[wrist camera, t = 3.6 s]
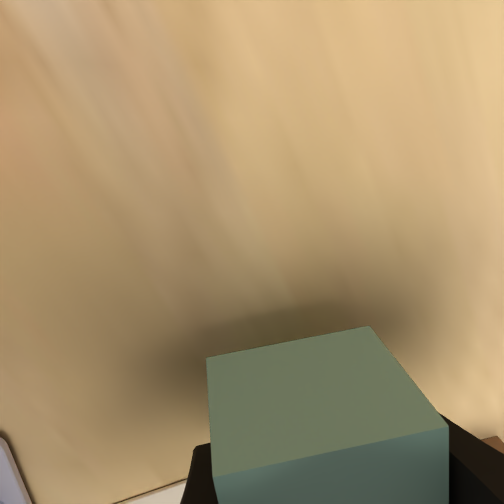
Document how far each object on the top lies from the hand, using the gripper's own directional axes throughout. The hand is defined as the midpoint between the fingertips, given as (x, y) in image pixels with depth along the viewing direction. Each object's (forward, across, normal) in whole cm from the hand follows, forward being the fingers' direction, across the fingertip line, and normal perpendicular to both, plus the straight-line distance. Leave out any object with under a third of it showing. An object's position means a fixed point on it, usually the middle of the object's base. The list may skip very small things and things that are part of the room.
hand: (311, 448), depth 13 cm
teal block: (+2, 0, 0) cm, 2 cm away
